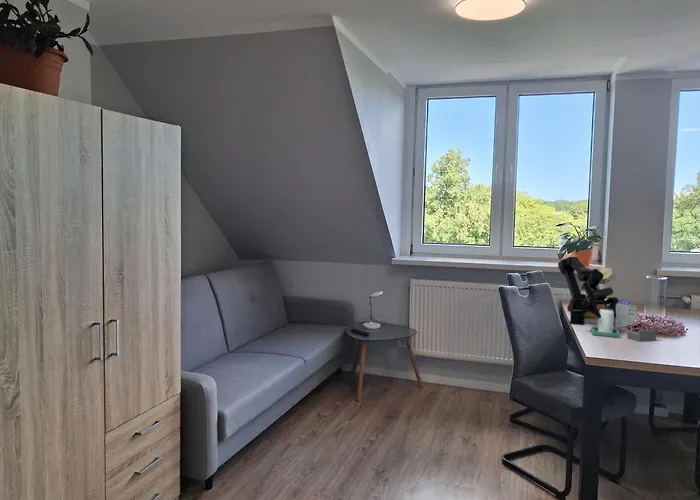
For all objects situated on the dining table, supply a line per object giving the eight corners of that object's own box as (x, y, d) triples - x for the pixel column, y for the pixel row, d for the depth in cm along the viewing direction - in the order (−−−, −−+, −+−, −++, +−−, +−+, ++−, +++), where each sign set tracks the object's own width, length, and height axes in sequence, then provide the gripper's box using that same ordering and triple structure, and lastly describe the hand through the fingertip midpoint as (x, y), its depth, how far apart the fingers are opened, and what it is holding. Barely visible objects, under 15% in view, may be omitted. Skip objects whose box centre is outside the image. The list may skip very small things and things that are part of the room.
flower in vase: (587, 304, 345) (589, 266, 343) (602, 304, 348) (605, 265, 346) (601, 308, 332) (603, 268, 330) (617, 308, 335) (619, 268, 333)
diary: (582, 311, 325) (583, 302, 324) (617, 314, 317) (617, 305, 317) (582, 318, 304) (582, 308, 303) (619, 321, 296) (619, 311, 296)
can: (611, 331, 266) (613, 308, 265) (613, 334, 260) (615, 310, 259) (597, 330, 268) (598, 306, 267) (598, 333, 262) (600, 309, 261)
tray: (592, 335, 260) (592, 331, 260) (591, 330, 271) (591, 326, 271) (619, 338, 256) (619, 334, 256) (617, 332, 267) (617, 329, 266)
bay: (627, 337, 257) (627, 327, 256) (643, 336, 260) (644, 326, 259) (639, 341, 250) (639, 331, 250) (655, 340, 253) (656, 329, 253)
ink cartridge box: (632, 325, 284) (634, 298, 283) (635, 328, 279) (637, 300, 278) (612, 324, 286) (613, 297, 285) (615, 326, 281) (616, 299, 280)
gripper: (586, 282, 262) (602, 308, 253) (617, 281, 268) (633, 307, 258) (574, 295, 270) (589, 321, 261) (604, 294, 276) (619, 319, 267)
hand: (608, 317), depth 261 cm, fingers open, 9 cm apart
